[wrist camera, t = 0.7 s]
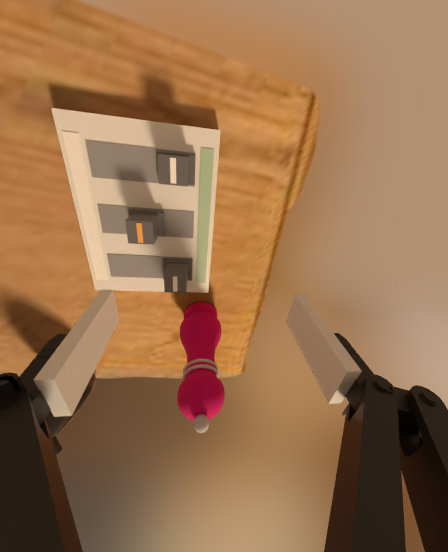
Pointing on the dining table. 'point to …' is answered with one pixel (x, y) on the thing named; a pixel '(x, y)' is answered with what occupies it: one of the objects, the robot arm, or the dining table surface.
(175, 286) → the breaker
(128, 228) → the breaker
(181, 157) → the breaker
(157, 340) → the dining table surface
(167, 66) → the dining table surface
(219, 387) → the pepper mill
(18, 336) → the dining table surface
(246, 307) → the dining table surface
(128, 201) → the panel
